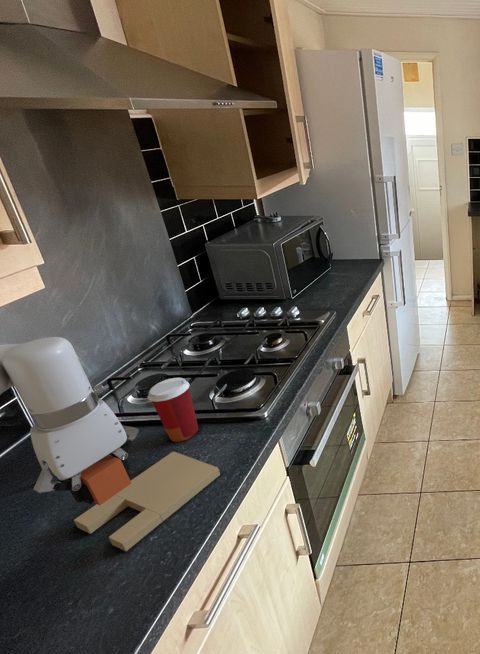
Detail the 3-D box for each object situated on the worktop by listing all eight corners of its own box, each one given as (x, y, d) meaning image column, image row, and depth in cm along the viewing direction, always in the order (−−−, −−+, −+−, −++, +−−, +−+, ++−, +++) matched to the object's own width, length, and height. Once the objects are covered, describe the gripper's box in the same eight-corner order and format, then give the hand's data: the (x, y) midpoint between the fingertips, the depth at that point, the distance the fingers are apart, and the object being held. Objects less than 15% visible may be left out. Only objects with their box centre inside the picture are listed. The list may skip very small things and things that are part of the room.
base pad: (126, 551, 75) (122, 544, 74) (77, 527, 79) (73, 520, 78) (220, 474, 90) (218, 467, 90) (175, 457, 95) (173, 451, 94)
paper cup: (203, 418, 107) (187, 372, 102) (204, 435, 101) (188, 388, 96) (164, 431, 103) (146, 384, 97) (163, 450, 97) (144, 401, 92)
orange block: (100, 505, 74) (86, 480, 71) (82, 497, 75) (68, 473, 73) (131, 483, 78) (120, 459, 76) (114, 476, 79) (102, 452, 77)
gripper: (111, 375, 78) (143, 449, 85) (-20, 439, 63) (32, 522, 70) (137, 382, 76) (169, 458, 83) (8, 451, 61) (59, 536, 68)
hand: (105, 487), depth 76 cm, fingers closed on orange block, 5 cm apart
